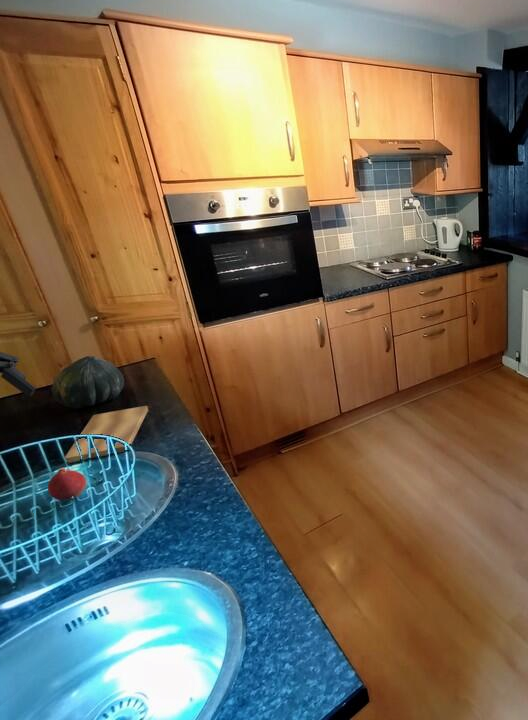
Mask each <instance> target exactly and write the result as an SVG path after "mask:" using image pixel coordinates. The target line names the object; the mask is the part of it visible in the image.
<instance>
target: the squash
mask: <svg viewBox="0 0 528 720" xmlns="http://www.w3.org/2000/svg"><path fill="white" fill-rule="evenodd" d="M124 385H125V379H124V376H123V374H122V372H121V371H120V370H119V369H118V368H117V367H116V366H115V364H113V363H112V362H110V361H107V360H105V359H103V358H100V357H97V356H94V355H87V356H84V357H81V358H79V359H77V360H75V361H73V362H72V363H71V364H69V365H67V366H65V367H64V368H63V369H62V370H61V371H60V372H59V373H57V375H56V376H55V378H54V380H53V383H52V387H51V391H52V395H53V398H54V399H55V400H56V401H57V402H58V403H59V404H61V405H62V406H65V407H69V408H71V409H82V408H84V407H86V406H87V407H92V406H94V405H96V404H101V403H104V402H109V401H113V400H115V399H116V398H117V397H118V396H119V394H120V393H121V391H122V390H123V388H124Z"/></svg>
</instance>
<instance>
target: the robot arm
mask: <svg viewBox="0 0 528 720" xmlns="http://www.w3.org/2000/svg"><path fill="white" fill-rule="evenodd" d="M19 361H20V358H19V357H18V356H15V355H12V354H8V353H5V352H3V351H0V374H1V375H0V378H2V379H3V380H4V381H6V382H7V383H9V384H10V385H12V386H13V387H14V388H15V389H17V390H18V391H20V392H21V393H23V394H24V396H26V397H27V398H30V397H33V396H34V394H35V392H36V390H37V387H36V386H34V385H33V384H31V383H30V382H28V381H27V380H26V378H27V376H26V374H25V373H22V371H20V370H19V369H18V368H17V365H18V363H19Z"/></svg>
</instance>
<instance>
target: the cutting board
mask: <svg viewBox="0 0 528 720" xmlns="http://www.w3.org/2000/svg"><path fill="white" fill-rule="evenodd" d="M148 412H149V408H148V405H143V406H137V407H132V408H131V407H130V408H126V409H125V408H124V409H120V410H113V411H108V412H103V413H97V414H93V415H92V416H91V418H90V419H89V420H88V422H87V424H86V426H85V427H84V428H83V430H82V431H81V433H80V434H79V436H80V435H81V434H103V435H110V436H114V437H117V438H120V439H122V440H124V441H126V442H127V443H128V444H131V445H133V442H134V440H135V438H136V437H137V434H138V432H139V430H140V428H141V426H142V424H143V422H144V420H145V418H146V416H147V414H148ZM77 439H78V438H77ZM78 443H79V447H80V449H81V456H82V459H83V460H82V461H85V460H89V459H88V441H87V439H85V438H81V439H78ZM94 446H95V447H96V448H97V449H98V452H99V455H100V457H106V456H108V455H107V451H108V449H107V444H106V440H104V439H94ZM115 448H116V450H117V451H118V453H117V454H119V453H124V450H125V448H124V445H123V444H121V443H119V442H116V443H115ZM64 458H66V460H67V462H68V463H67V464H72V463H76V462H81V461H80V459H81V458H80V455H79V452H78V450H77V447H76V444H75V442H74V443H73V444H72V446H71V447H70V449H69V450H68V452H67V453H66V455H65V456H64ZM96 458H98V457H97V455H96V451H95V449H94V448H91V459H96Z"/></svg>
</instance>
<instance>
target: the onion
mask: <svg viewBox="0 0 528 720" xmlns="http://www.w3.org/2000/svg"><path fill="white" fill-rule="evenodd" d="M87 483H88V482H87V479H86V476H85V475H84V474H83V473H82V472H79V471H77V470H73V469H66V468H64V467H61V468H59V469H58V470H57V472H56V473H55V474H54V475H53V476H52V477H51V478H50V480H49V481H48V483H47V492H48V494H49V496H50V497H51V498H53V499H55V500H57V501H69V500H72V499H71V497H72V496H73V497H74V499H73V500H75V499H77V498H78V497H79V496H80V495H81V494H82V493H83V492H84V490H85V488H86V487H87Z"/></svg>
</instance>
